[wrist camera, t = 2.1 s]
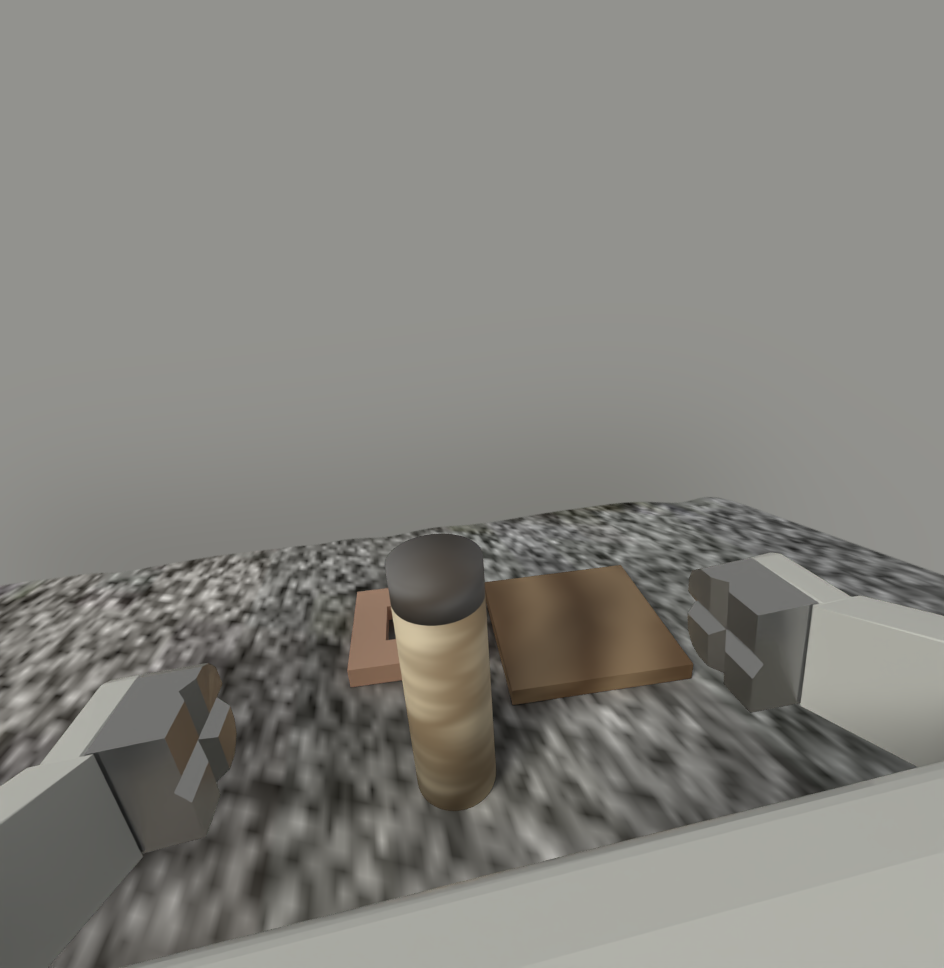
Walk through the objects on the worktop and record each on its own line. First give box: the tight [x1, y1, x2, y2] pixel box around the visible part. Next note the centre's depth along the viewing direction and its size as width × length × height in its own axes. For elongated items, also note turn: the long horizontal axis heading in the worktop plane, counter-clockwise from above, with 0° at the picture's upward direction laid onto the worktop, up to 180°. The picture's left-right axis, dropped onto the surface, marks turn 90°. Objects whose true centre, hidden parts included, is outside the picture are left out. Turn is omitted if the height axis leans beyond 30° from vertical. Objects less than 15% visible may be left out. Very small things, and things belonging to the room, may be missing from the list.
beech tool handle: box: [385, 534, 496, 811], centre depth 26 cm, size 4×4×14 cm
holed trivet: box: [347, 588, 402, 687], centre depth 39 cm, size 9×9×2 cm
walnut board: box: [485, 565, 693, 705], centre depth 38 cm, size 12×12×1 cm
